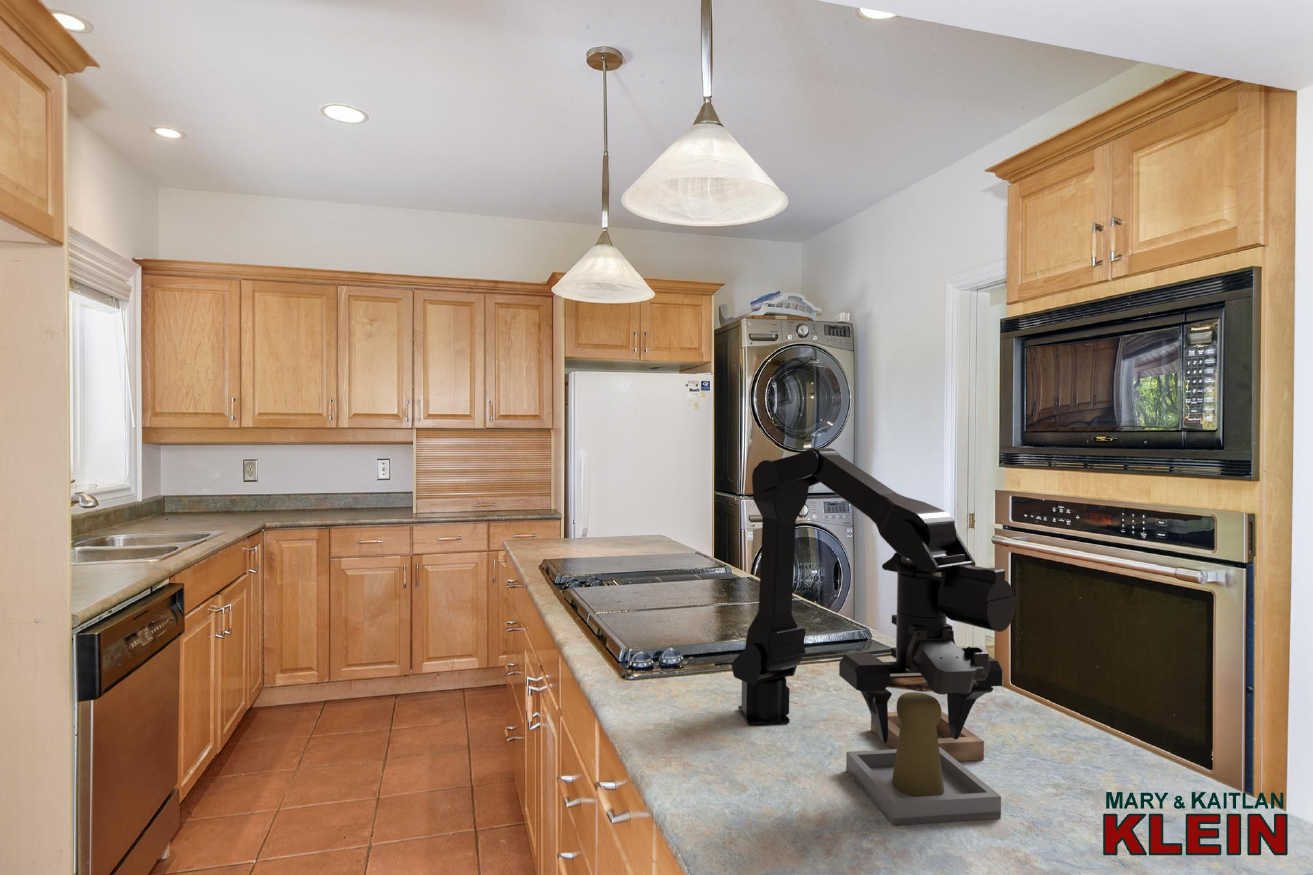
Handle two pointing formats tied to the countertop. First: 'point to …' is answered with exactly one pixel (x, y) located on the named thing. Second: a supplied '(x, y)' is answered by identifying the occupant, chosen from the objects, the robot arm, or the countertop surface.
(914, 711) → the cork
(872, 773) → the tray
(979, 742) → the pin holder
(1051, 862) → the countertop surface
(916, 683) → the bread roll
